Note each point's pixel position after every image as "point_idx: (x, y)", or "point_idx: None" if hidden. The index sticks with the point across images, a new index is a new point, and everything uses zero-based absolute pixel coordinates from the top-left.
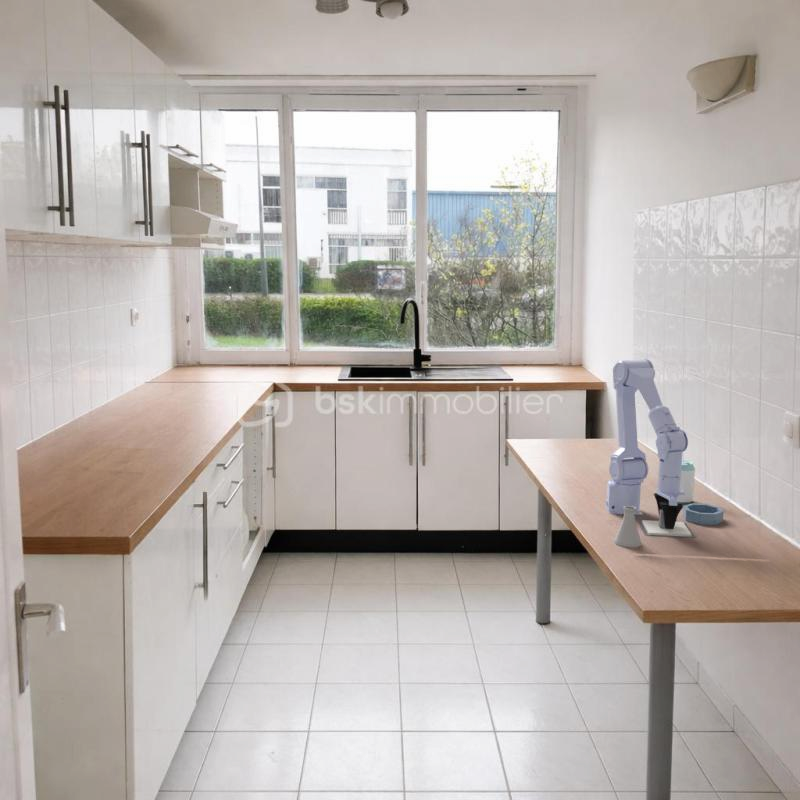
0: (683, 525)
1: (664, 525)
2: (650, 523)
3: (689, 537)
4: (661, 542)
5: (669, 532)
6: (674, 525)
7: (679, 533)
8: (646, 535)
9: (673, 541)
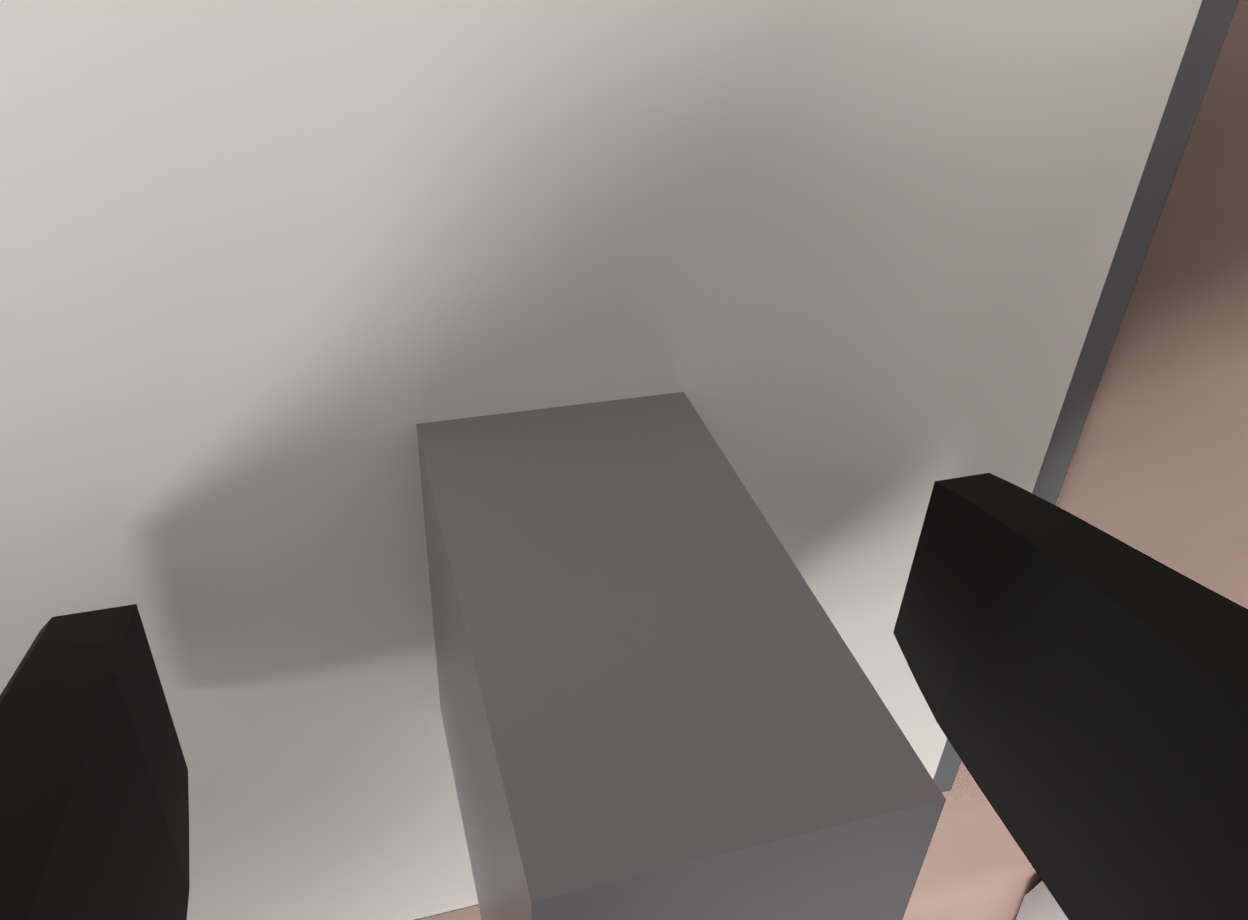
0: (235, 29)
1: (935, 695)
2: (316, 850)
3: (1211, 9)
4: (1182, 560)
5: None
6: (1077, 517)
7: (1075, 288)
8: (940, 781)
9: (1193, 378)
